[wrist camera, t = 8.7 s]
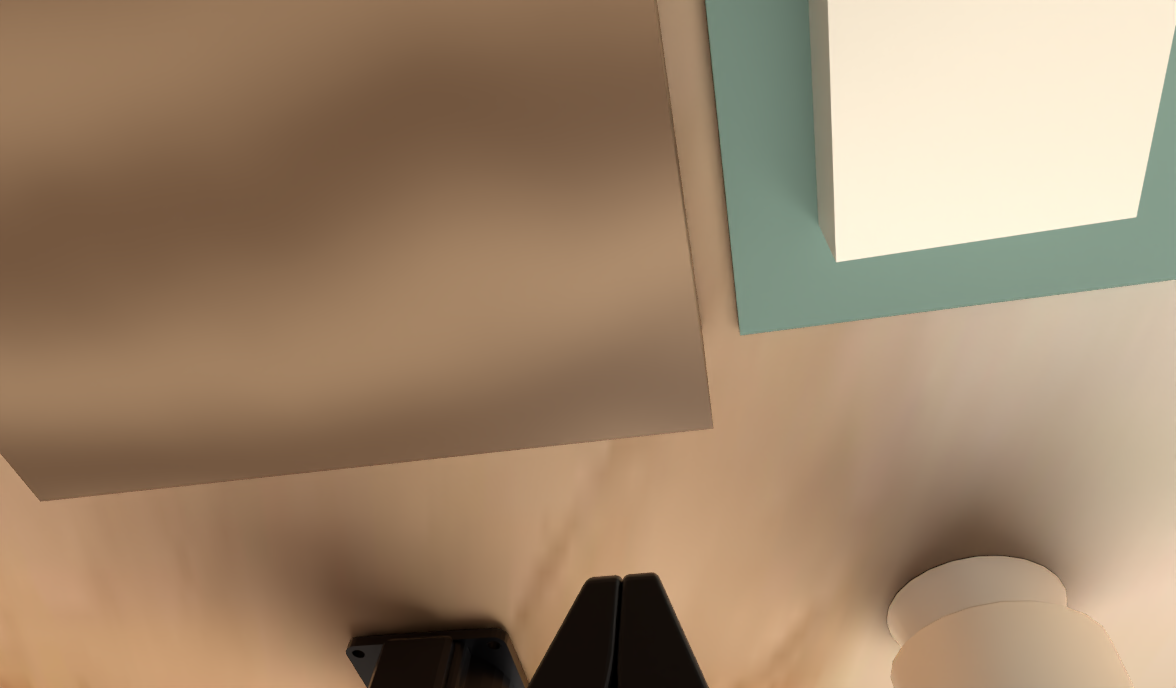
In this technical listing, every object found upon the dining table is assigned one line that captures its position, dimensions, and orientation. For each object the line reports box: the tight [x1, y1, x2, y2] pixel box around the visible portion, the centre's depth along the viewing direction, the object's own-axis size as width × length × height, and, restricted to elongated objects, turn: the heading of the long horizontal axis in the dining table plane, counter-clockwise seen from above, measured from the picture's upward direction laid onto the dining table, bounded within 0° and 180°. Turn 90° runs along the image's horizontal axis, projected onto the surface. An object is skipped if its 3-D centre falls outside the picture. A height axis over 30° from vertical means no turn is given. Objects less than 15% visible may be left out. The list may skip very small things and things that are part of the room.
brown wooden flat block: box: [0, 0, 713, 501], centre depth 16 cm, size 14×18×4 cm
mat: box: [705, 0, 1176, 335], centre depth 15 cm, size 14×12×1 cm
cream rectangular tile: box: [808, 0, 1176, 262], centre depth 14 cm, size 9×6×2 cm, turn 12°
